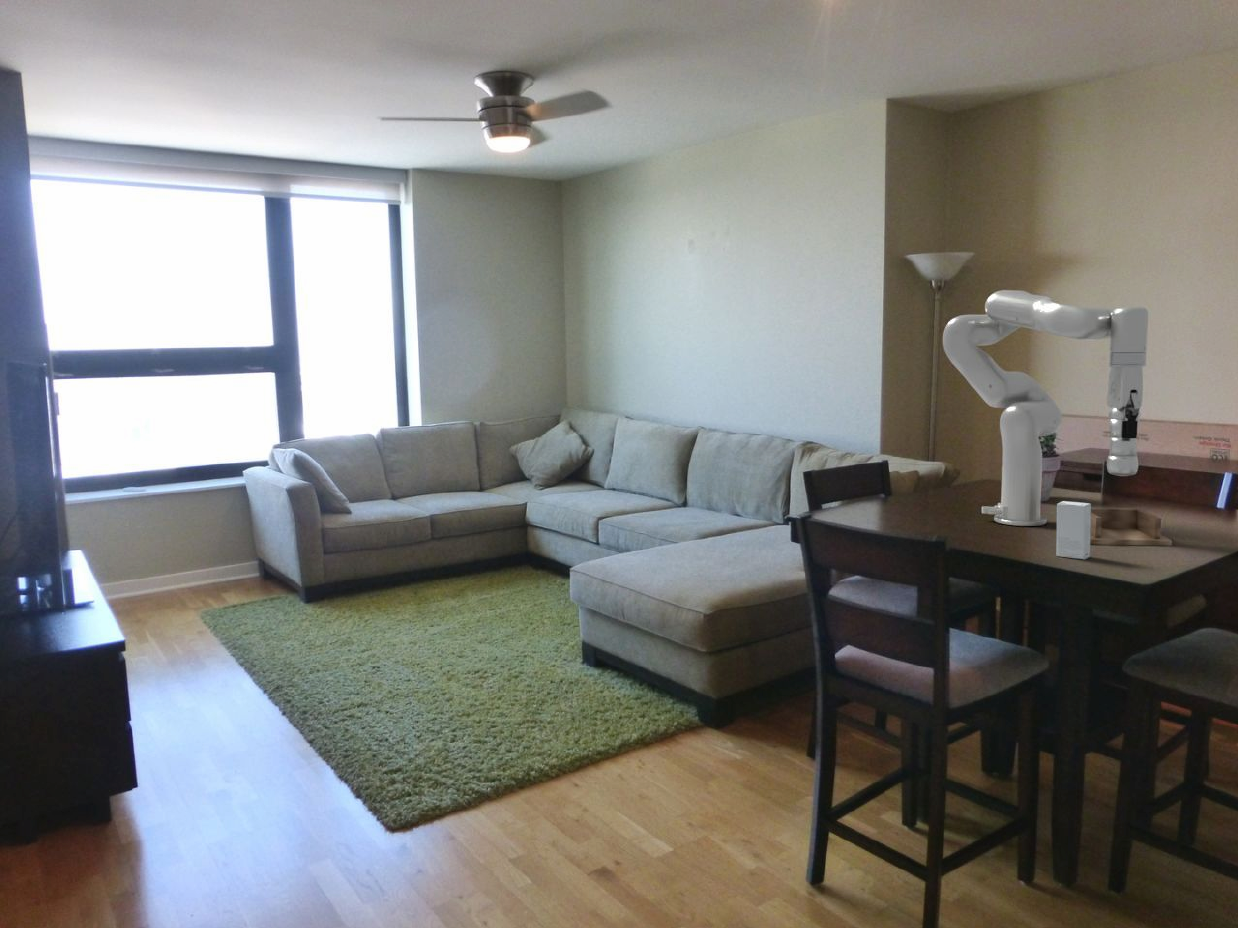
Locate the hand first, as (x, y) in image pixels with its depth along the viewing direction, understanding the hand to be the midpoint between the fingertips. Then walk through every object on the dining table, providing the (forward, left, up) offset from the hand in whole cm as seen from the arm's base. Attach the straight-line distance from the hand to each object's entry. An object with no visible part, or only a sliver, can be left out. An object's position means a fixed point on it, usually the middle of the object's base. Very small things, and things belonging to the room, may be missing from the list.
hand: (1123, 435), depth 218 cm
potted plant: (-6, +55, -25) cm, 60 cm away
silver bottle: (0, 0, -10) cm, 10 cm away
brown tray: (0, +1, -25) cm, 25 cm away
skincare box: (-16, -20, -25) cm, 36 cm away
